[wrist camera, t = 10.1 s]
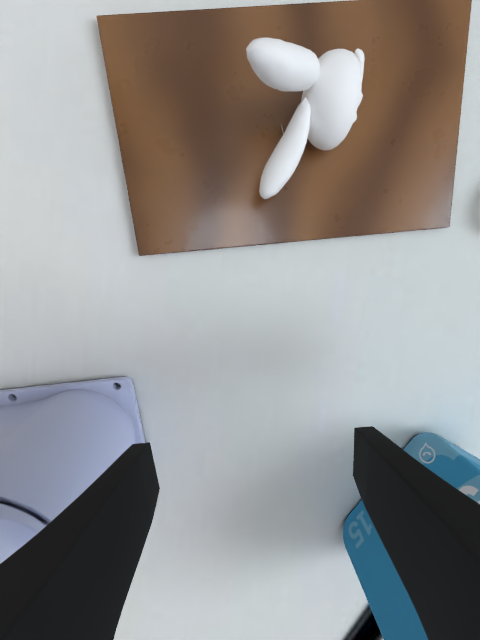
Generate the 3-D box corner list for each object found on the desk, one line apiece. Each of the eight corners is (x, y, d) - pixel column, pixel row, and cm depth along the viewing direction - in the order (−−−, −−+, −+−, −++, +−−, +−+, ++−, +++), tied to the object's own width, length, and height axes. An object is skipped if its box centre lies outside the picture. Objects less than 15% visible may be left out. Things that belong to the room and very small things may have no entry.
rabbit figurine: (372, 158, 16) (280, 211, 13) (318, 150, 18) (229, 193, 15) (402, 8, 12) (275, 36, 9) (327, 22, 14) (206, 47, 11)
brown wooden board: (140, 255, 17) (138, 255, 17) (99, 21, 14) (95, 15, 14) (444, 227, 18) (449, 227, 17) (466, -1, 15) (473, -8, 14)
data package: (423, 422, 21) (659, 623, 10) (463, 445, 22) (726, 657, 11) (336, 527, 24) (445, 794, 12) (375, 545, 24) (514, 812, 13)
